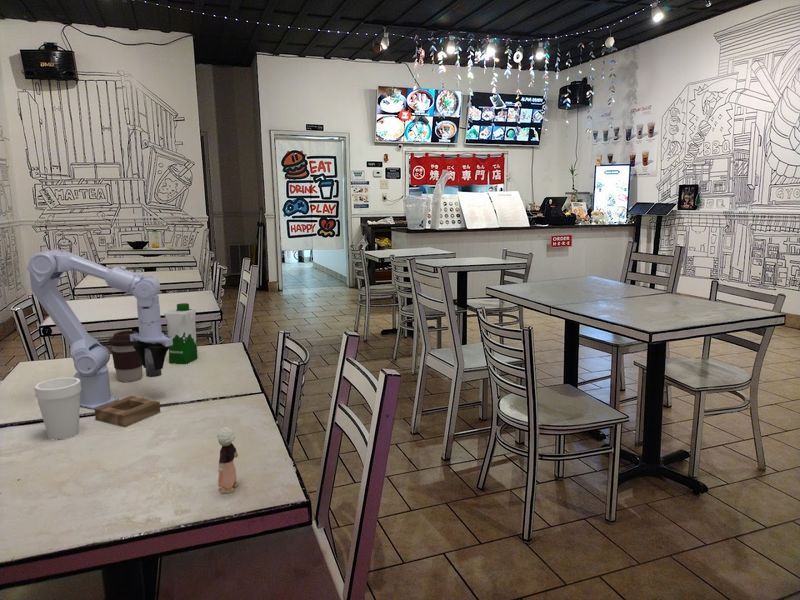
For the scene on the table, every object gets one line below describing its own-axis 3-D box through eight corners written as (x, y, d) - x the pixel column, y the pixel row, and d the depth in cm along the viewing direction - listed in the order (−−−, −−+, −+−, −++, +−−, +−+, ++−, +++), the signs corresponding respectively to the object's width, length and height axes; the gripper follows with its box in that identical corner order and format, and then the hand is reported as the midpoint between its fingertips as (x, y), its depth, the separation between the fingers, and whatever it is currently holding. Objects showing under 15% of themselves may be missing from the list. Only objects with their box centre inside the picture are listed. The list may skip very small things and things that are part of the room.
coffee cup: (153, 377, 182) (149, 331, 179) (124, 385, 174) (120, 338, 171) (135, 372, 187) (131, 327, 185) (106, 380, 179) (101, 334, 176)
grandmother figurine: (222, 480, 116) (219, 421, 114) (241, 479, 116) (238, 420, 114) (213, 499, 108) (209, 437, 106) (234, 498, 109) (230, 436, 106)
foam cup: (94, 429, 141) (89, 379, 139) (61, 445, 132) (55, 391, 130) (65, 425, 144) (60, 375, 142) (31, 439, 135) (25, 387, 133)
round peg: (143, 376, 160) (140, 348, 158) (154, 372, 163) (152, 345, 162) (153, 377, 158) (151, 350, 156) (164, 374, 161) (162, 346, 160)
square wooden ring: (95, 419, 147) (94, 408, 147) (131, 406, 157) (130, 395, 156) (125, 427, 143) (124, 415, 142) (160, 412, 152) (159, 401, 152)
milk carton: (201, 358, 204) (197, 303, 200) (188, 365, 195) (184, 308, 191) (178, 357, 205) (175, 302, 202) (164, 364, 196) (160, 307, 193)
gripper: (180, 320, 158) (183, 367, 161) (143, 315, 164) (146, 361, 167) (159, 325, 152) (163, 374, 154) (121, 320, 158) (126, 367, 160)
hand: (153, 368), depth 160 cm, fingers closed on round peg, 4 cm apart
